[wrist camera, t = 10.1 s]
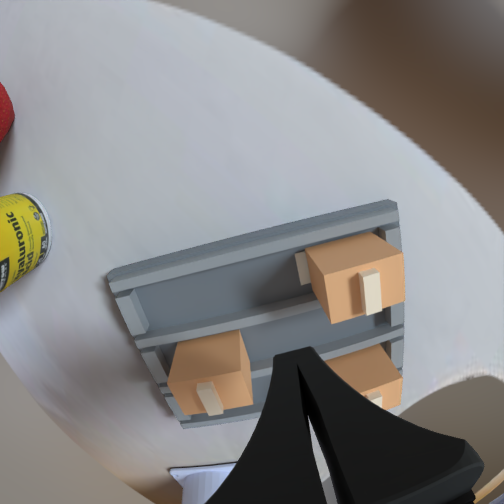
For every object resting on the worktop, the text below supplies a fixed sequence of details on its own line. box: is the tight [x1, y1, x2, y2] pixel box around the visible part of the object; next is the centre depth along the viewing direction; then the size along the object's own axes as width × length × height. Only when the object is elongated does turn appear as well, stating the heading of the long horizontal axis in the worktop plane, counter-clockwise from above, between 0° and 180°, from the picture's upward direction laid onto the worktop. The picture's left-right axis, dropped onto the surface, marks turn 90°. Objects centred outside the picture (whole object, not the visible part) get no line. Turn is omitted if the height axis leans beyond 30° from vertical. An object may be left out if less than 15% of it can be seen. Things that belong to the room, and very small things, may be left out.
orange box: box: [305, 232, 405, 324], centre depth 15 cm, size 3×4×5 cm, turn 104°
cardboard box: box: [324, 343, 403, 410], centre depth 18 cm, size 3×4×5 cm, turn 104°
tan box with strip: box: [167, 329, 253, 416], centre depth 17 cm, size 3×4×5 cm, turn 104°
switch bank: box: [107, 199, 404, 429], centre depth 19 cm, size 13×18×2 cm
